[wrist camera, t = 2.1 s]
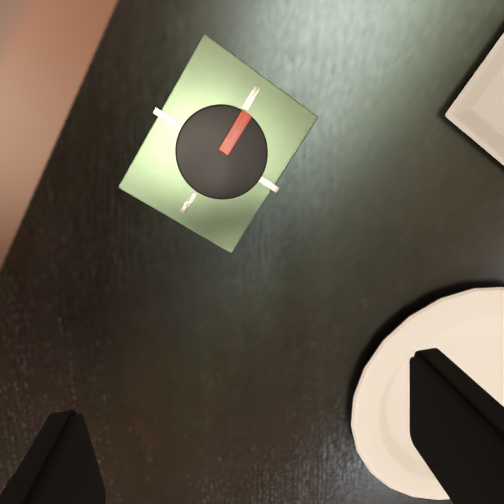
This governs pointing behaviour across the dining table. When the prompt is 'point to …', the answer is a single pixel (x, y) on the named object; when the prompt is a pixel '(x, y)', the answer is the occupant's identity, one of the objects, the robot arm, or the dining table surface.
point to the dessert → (484, 104)
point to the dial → (221, 151)
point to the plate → (398, 386)
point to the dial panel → (174, 116)
